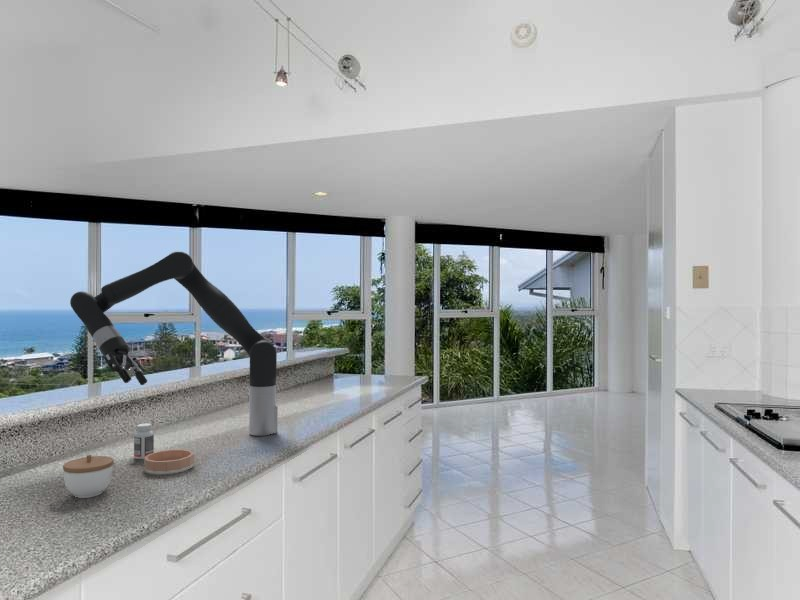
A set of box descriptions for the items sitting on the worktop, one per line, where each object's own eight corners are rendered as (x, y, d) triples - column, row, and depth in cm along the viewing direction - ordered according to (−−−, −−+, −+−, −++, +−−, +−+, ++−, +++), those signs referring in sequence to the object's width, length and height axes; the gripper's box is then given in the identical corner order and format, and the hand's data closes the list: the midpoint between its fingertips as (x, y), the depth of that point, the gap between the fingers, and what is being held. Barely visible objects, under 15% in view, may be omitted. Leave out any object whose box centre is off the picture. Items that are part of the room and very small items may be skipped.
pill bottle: (153, 453, 167) (153, 422, 167) (153, 458, 162) (154, 425, 162) (133, 455, 165) (134, 423, 165) (133, 460, 160) (134, 427, 160)
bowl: (188, 459, 161) (188, 447, 161) (196, 470, 151) (197, 457, 151) (142, 465, 155) (142, 453, 155) (147, 477, 144) (147, 464, 144)
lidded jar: (77, 505, 124) (77, 464, 124) (53, 496, 130) (54, 457, 130) (122, 491, 133) (122, 453, 134) (98, 483, 139) (98, 447, 139)
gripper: (106, 332, 166) (132, 372, 162) (133, 339, 180) (158, 376, 176) (86, 347, 166) (113, 388, 162) (115, 353, 179) (140, 391, 175)
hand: (136, 382), depth 169 cm, fingers open, 8 cm apart
